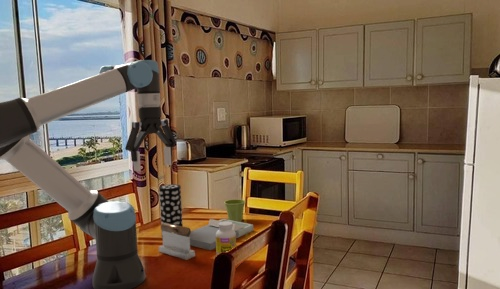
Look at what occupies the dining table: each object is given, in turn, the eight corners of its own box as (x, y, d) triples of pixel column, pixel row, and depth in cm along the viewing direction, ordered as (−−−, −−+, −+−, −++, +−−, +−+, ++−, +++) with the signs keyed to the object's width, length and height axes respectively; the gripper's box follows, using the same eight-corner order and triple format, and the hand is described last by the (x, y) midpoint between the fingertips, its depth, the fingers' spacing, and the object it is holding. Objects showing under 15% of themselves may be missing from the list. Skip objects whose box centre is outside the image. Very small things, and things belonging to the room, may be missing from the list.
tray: (238, 237, 161) (237, 231, 161) (207, 230, 171) (207, 224, 170) (253, 230, 169) (253, 224, 169) (223, 224, 178) (223, 218, 178)
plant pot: (221, 219, 186) (220, 200, 185) (240, 216, 190) (240, 198, 189) (229, 225, 177) (228, 205, 176) (249, 221, 181) (248, 202, 180)
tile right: (233, 230, 160) (235, 224, 161) (222, 227, 164) (223, 221, 165) (242, 232, 165) (244, 226, 166) (231, 230, 169) (232, 224, 169)
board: (210, 250, 148) (210, 243, 148) (179, 242, 158) (178, 235, 158) (238, 237, 161) (237, 231, 161) (207, 230, 171) (207, 224, 170)
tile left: (219, 227, 165) (220, 221, 166) (208, 225, 169) (209, 218, 169) (228, 229, 170) (229, 223, 170) (217, 227, 173) (219, 221, 174)
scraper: (186, 260, 140) (185, 229, 139) (159, 252, 149) (157, 223, 148) (194, 256, 143) (193, 226, 142) (167, 248, 152) (165, 220, 151)
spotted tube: (185, 232, 170) (182, 184, 167) (179, 239, 161) (177, 188, 159) (165, 232, 170) (162, 184, 168) (159, 239, 162) (156, 189, 160)
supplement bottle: (218, 265, 134) (217, 227, 133) (215, 258, 141) (213, 221, 139) (238, 262, 136) (237, 224, 135) (234, 255, 143) (232, 219, 141)
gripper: (125, 107, 129) (130, 174, 132) (183, 105, 149) (186, 163, 151) (111, 107, 134) (115, 172, 136) (169, 105, 154) (172, 162, 156)
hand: (153, 167), depth 144 cm, fingers open, 13 cm apart
